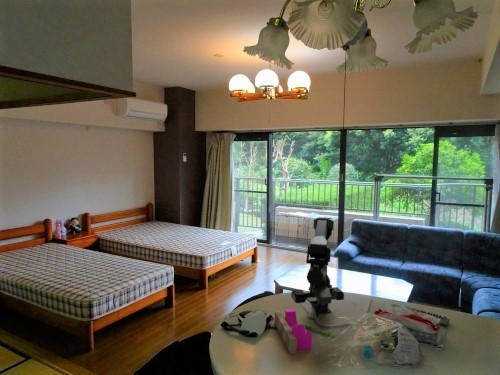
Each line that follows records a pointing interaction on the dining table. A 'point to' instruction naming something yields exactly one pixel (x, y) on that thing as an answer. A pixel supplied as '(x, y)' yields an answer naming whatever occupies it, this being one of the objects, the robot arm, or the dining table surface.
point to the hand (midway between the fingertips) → (317, 317)
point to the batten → (286, 333)
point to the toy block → (298, 330)
